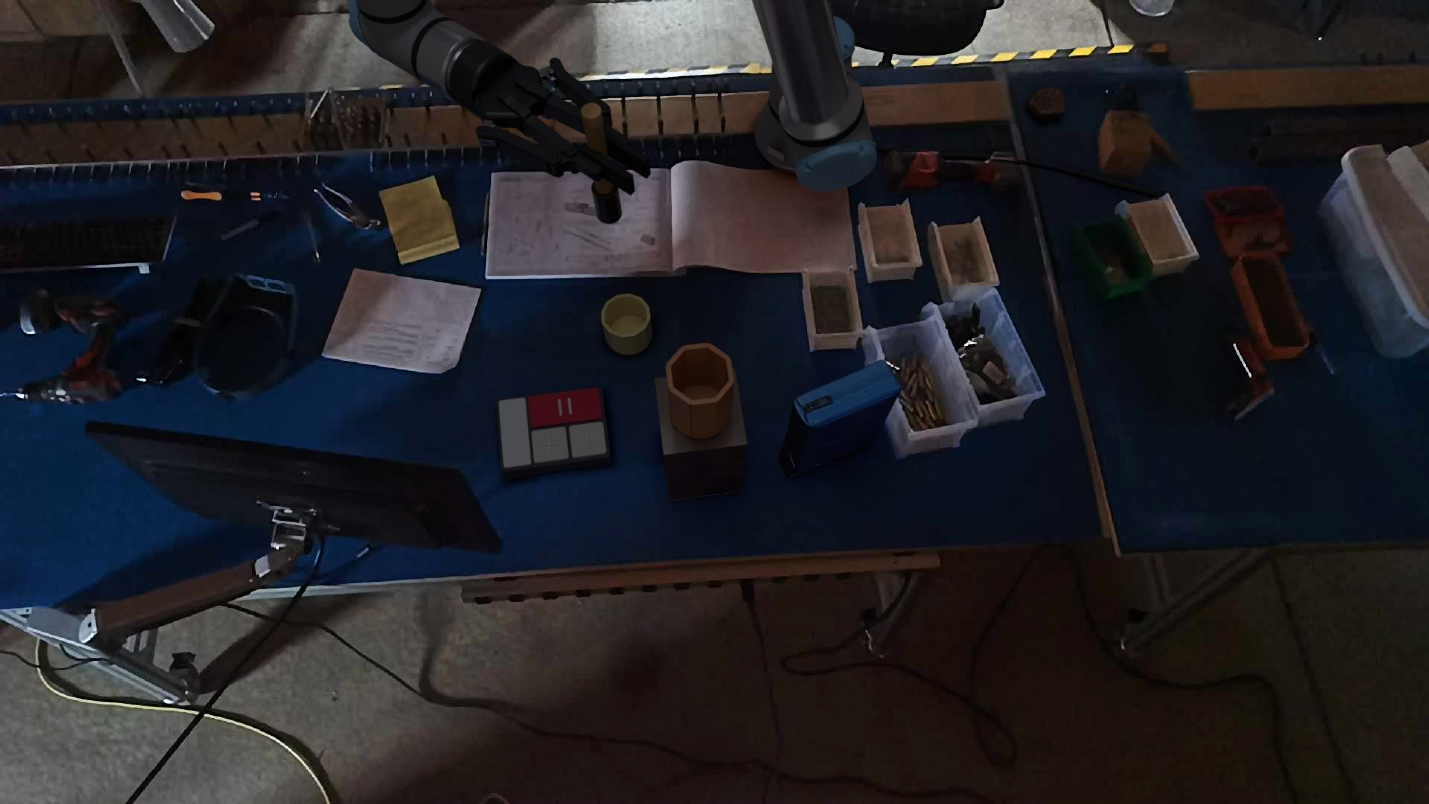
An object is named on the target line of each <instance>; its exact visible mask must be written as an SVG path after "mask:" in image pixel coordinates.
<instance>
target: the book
mask: <svg viewBox="0 0 1429 804" xmlns="http://www.w3.org/2000/svg"><path fill="white" fill-rule="evenodd" d="M902 391H903V386H902V384H900V383H899V381H898V379H897V377H896V375H895V372H894V370H893V369H892V368H891V367H890V365H889V364H888V362H887V361H886V360H885V359H879V360H876V361H875V362H873V363H870V364H868V365H867V366H865V367H864V368H861V369H859V370H857V371H856V370H855V371H853V372H851V373H849V374H847V375H844V376H842V377H840V378H838V379H835V380H832V381H829V382H828V383H825V384H822V385H821V386H819V387H817V388H814V389H811V390H808V391H807V392H805V393H804V394H801V395H799V396H797V398H795V399H794V402H793V403H792V406H791V411H790V415H789V420H788V425H787V426H788V427H787V430H786V434H785V436H784V437H785V438H784V440H783V442H782V446H781V449H780V451H779V456H778V458H779V461H780V460H781V462H780V464H782V465H781V466H782V468H783V472H784V473H785V474H786V475H787V477H788V478H796V477H799V476H802V475H804V474H806V473H808V472H810V471H813V470H815V469H817V468H818V467H822V466H824V465H826V464H829V463H831V462H834V461H837V460H839V459H841V458H843V457H845V456H847V455H848V454H852V453H853V452H855V451H858V450H860V449H863V448H864V447H865V446H868V445H870V444H873V443H874V442H875V441H877V439H878V437H879V435H880V434H881V431H882V429H883V427H884V425H885V423H886V420H887V419H888V417H889V415H890V413H891V411H892V409H893V406H894V405H895V403H896V401H897V400H898V398H899V396H900V394H901V392H902ZM859 447H861V448H859ZM858 448H859V449H858ZM856 449H857V450H856ZM854 450H855V451H854ZM830 460H831V461H830ZM828 461H830V462H828ZM826 462H827V463H826ZM821 463H825V464H822V465H820V464H821ZM816 464H818V465H819V466H815V465H816ZM811 468H812V469H811ZM808 470H809V471H808ZM806 471H807V472H806ZM786 472H787V473H786ZM804 472H805V473H804ZM802 473H803V474H802ZM800 474H801V475H800ZM792 475H795V476H792ZM798 475H799V476H798Z"/></svg>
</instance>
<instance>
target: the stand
mask: <svg viewBox="0 0 1429 804" xmlns="http://www.w3.org/2000/svg"><path fill="white" fill-rule="evenodd" d="M736 370H737V369H736V368H733V374H734V380H735V381H734V393H733V405H732V416H731V418H730V419H729V421H728V422H727V424H726V426H725V427H724V428H723V429H722V430H721V431H720V432H719V433H718V434H716V435H714V436H712V437H709V438H703V439H697V438H692V437H688V436H686V435H684V434H683V433H681V432H680V431H679V430H678V429H677V428H676V427H675V426H674V425H673V424H672V423H671V415H670V407H669V399H668V388H667V378H666V376H660V377H654V378H653V380H654V388H655V390H654V391H655V396H656V397H655V398H656V407H657V414H658V423H659V431H660V438H661V447H662V454H663V455H662V456H663V462H664V469H665V470H664V471H665V476H666V477H665V479H666V486H667V493H668V501H669V500H674V501H669V504H673V503H680V502H688V501H697V500H703V499H710V498H711V499H713V498H718V497H727V496H734V495H740V494H742V487H743V482H744V481H743V480H744V473H745V467H746V466H745V465H746V460H747V459H746V458H747V452H748V445H749V444H748V438H747V431H746V426H745V419H744V414H743V407H742V400H741V396H740V388H739V383H738V376H737V371H736ZM739 491H741V492H739ZM731 492H735V493H731ZM723 493H728V494H723ZM714 494H720V495H714ZM706 495H712V496H706ZM700 496H705V497H700ZM692 497H697V498H692ZM684 498H689V499H684ZM675 499H681V500H675Z"/></svg>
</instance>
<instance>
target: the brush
mask: <svg viewBox="0 0 1429 804" xmlns="http://www.w3.org/2000/svg"><path fill="white" fill-rule="evenodd" d="M581 115H582V120H583V125H584V130H585V135H584V137H585V141H586V146H588V147H589V148H590V149H593V150H594V151H596V152H598V153H599V154H601V155H602V156H604V157H606V158H607V159H609V160H610V156H609V155H608V148H607V142H606V136H605V130H604V124H603V118H602V111H601V108H600V106H599V105H598V104H595V103H588V104H585V105H584V106H583V107H582V109H581ZM590 185H591V186H590V190H591V196H592V200H593V204H594V209H595V215H596V218H597V220H598V221H599V222H600V223H602V224H604V225H613V224H616V223H617V222H619V221H620V220H621V218H622V216H623V209H622V202H621V196H620V189H619V188H617V187H616V186H614V185H613V184H611V183H609V182H608V181H606V180H605V179H602V180H601V181H600V182H597V181H593V180H592V183H591V184H590Z"/></svg>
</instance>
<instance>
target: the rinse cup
mask: <svg viewBox="0 0 1429 804" xmlns="http://www.w3.org/2000/svg"><path fill="white" fill-rule="evenodd" d="M600 317H601V325H602V329H603V330H602V331H603V334H604V338H605V341H606V343H607V344H608V346H609V347H610V348H611V350H613V351H614V352H615V353H617V354H620V355H624V356H632V355H637V354H639V353H641V352H643V351H645V349H647V348H648V347H649V345H650V343H651V342H652V339H653V328H652V318H651V312H650V306H649V305H648V303H647V302H646V301H645V300H644V299H643V298H642V297H641V296H638V295H635V294H633V293H621V294H616V295H615V296H613V297H612V298H610V299H608V300H607V301H606V302H605V304H604V305H603V308H602V309H601V312H600Z"/></svg>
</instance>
